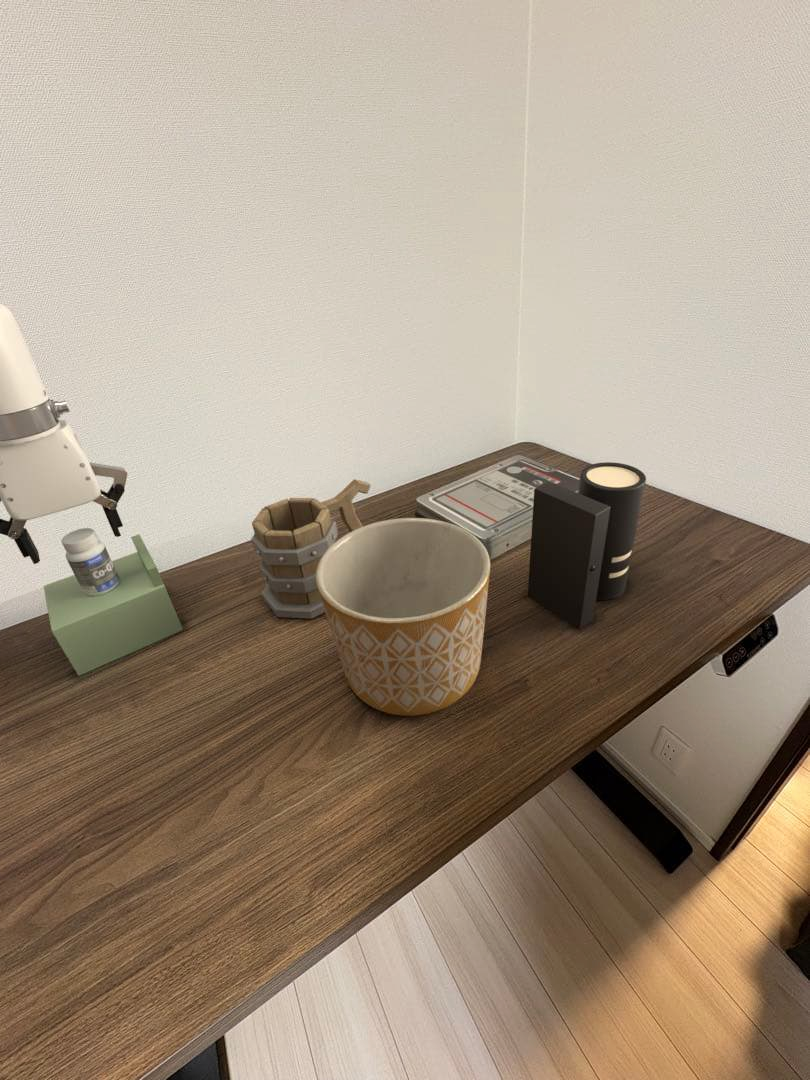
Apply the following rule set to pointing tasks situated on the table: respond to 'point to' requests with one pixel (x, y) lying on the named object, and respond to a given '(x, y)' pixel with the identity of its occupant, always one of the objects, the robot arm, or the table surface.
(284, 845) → the table surface
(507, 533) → the hard drive
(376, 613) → the planter
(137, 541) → the green block with fin
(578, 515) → the light fixture
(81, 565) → the pill bottle
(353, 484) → the tankard
